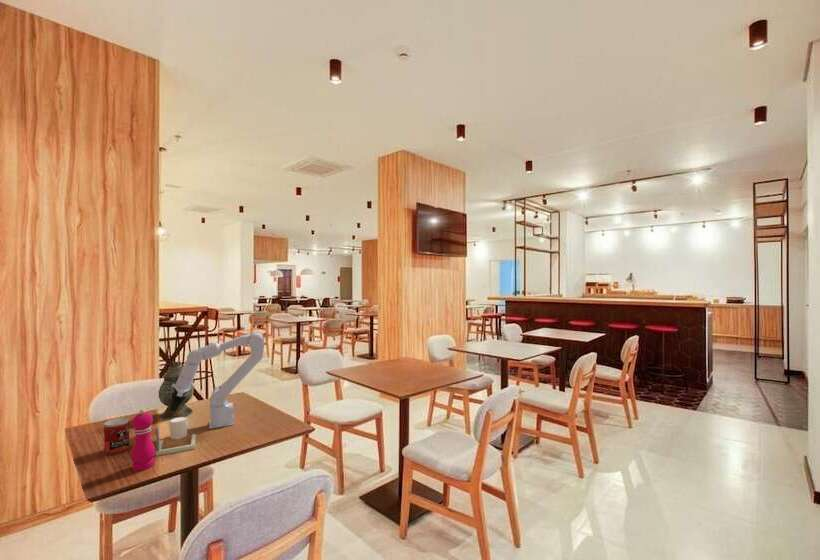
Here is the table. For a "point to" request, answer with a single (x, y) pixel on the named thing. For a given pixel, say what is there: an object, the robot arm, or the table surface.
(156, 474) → the table surface
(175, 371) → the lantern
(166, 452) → the pale green angular frame
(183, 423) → the beige faceted cylinder
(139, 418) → the pepper mill
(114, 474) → the table surface
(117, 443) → the canned food
